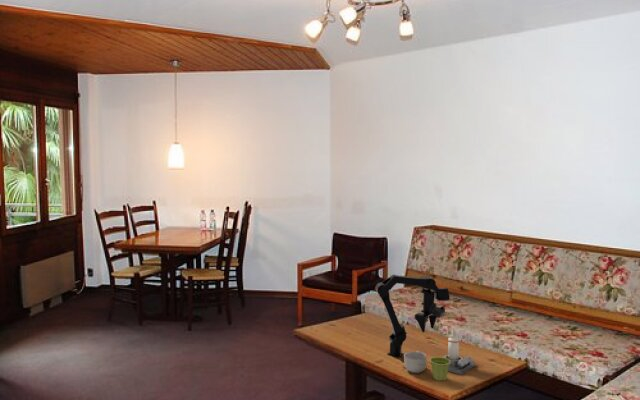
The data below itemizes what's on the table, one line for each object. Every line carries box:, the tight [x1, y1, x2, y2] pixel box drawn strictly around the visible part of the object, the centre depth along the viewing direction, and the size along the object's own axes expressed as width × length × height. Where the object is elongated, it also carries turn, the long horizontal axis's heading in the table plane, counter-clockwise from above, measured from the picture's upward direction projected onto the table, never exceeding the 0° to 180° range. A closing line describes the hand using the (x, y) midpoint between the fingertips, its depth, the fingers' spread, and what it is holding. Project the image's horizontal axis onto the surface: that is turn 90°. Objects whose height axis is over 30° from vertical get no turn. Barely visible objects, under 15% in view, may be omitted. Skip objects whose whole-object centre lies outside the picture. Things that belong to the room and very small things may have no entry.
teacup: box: [403, 350, 427, 374], centre depth 265 cm, size 14×11×8 cm
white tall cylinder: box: [447, 336, 460, 360], centre depth 270 cm, size 5×5×12 cm
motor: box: [443, 354, 476, 376], centre depth 270 cm, size 16×13×5 cm
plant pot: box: [429, 356, 451, 382], centre depth 254 cm, size 9×9×9 cm
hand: (427, 330), depth 286 cm, fingers open, 9 cm apart
